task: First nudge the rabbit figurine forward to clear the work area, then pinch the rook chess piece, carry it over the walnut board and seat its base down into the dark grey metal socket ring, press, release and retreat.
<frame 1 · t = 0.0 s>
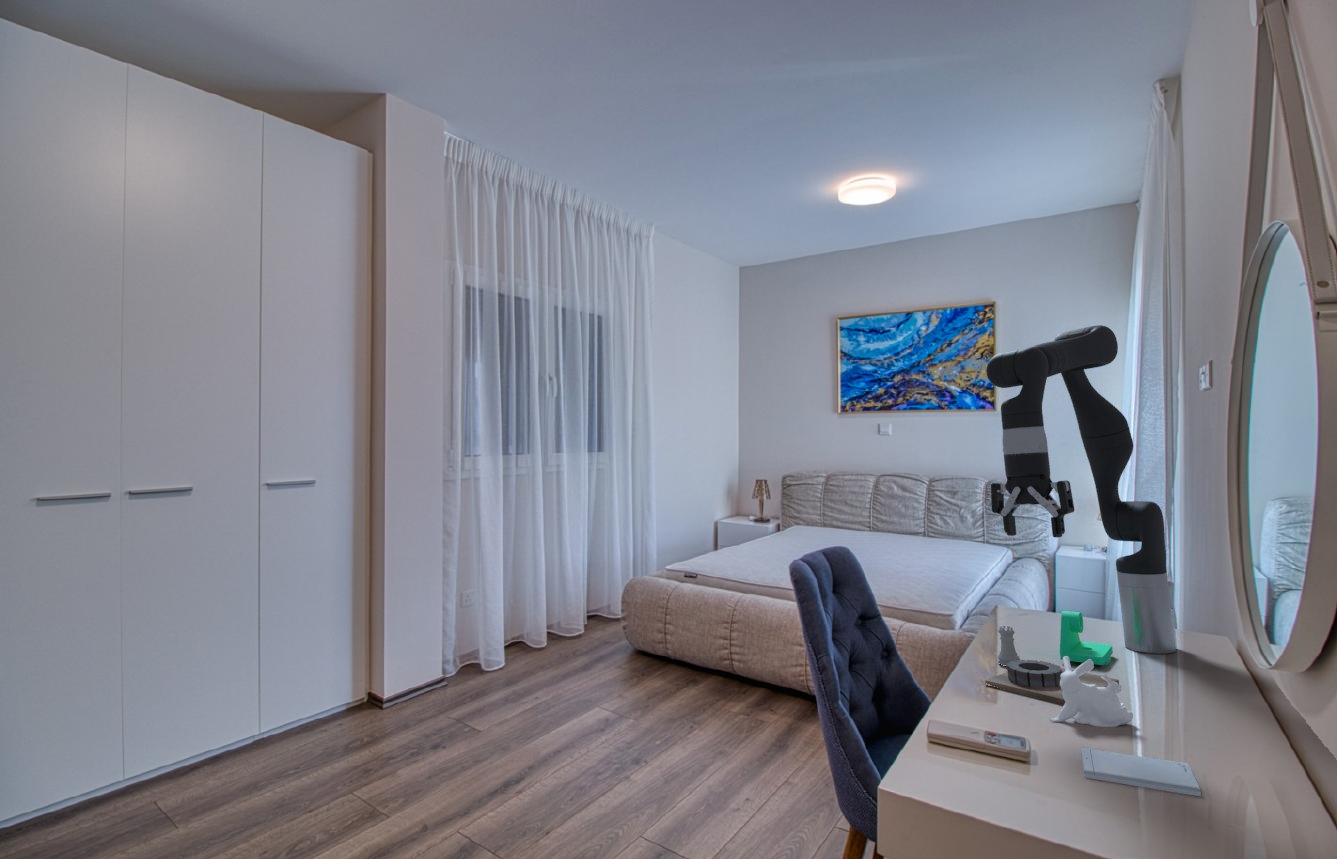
hand: (1034, 536, 119), 29 cm above the table, fingers open, 8 cm apart
rook chess piece: (1009, 665, 135), on the table
rabbit figurine: (1089, 719, 105), on the table
socket board: (1051, 685, 121), on the table
camera mount: (1088, 661, 136), on the table
hard drive: (1137, 778, 86), on the table
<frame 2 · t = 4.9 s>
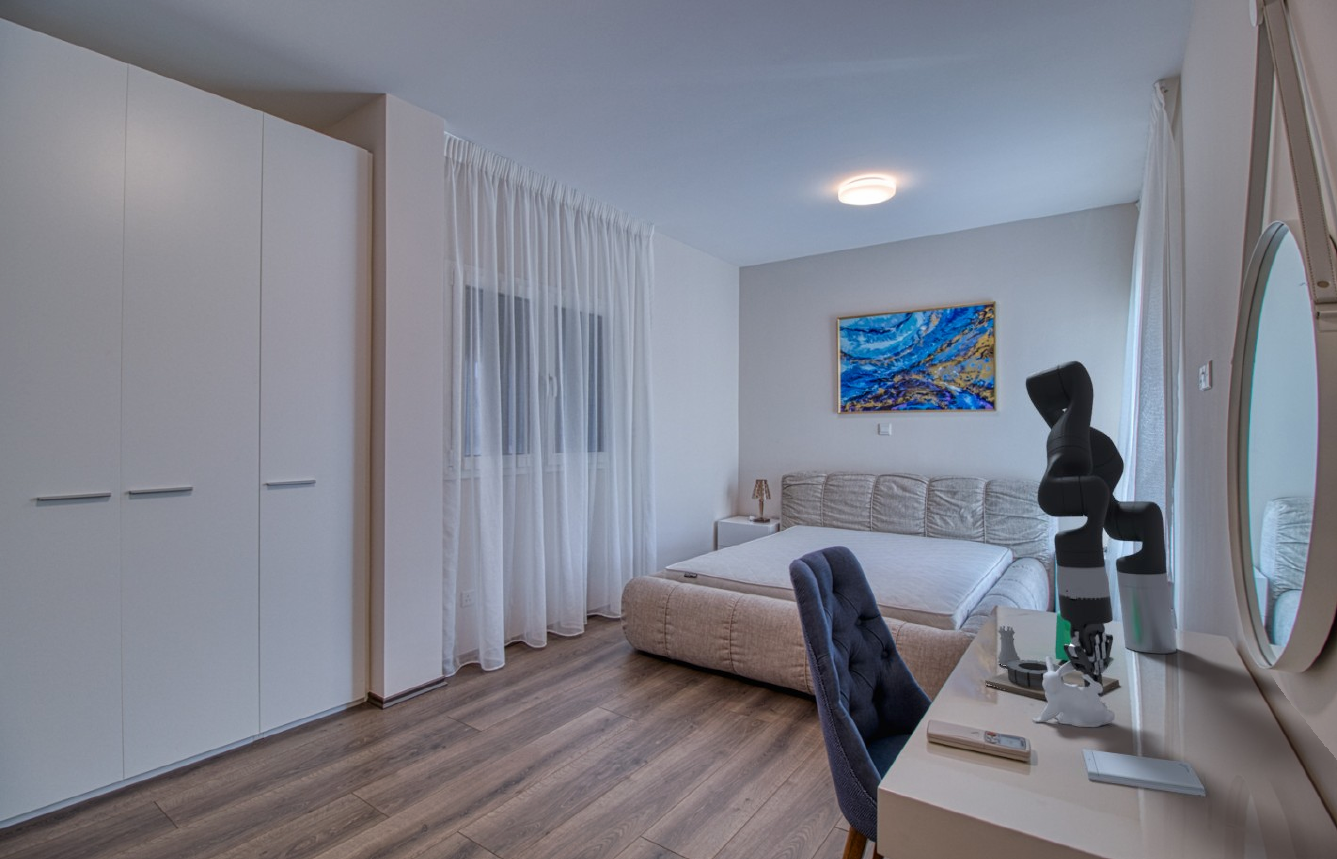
hand: (1094, 695, 106), 3 cm above the table, fingers closed
rabbit figurine: (1071, 719, 105), on the table, touching gripper
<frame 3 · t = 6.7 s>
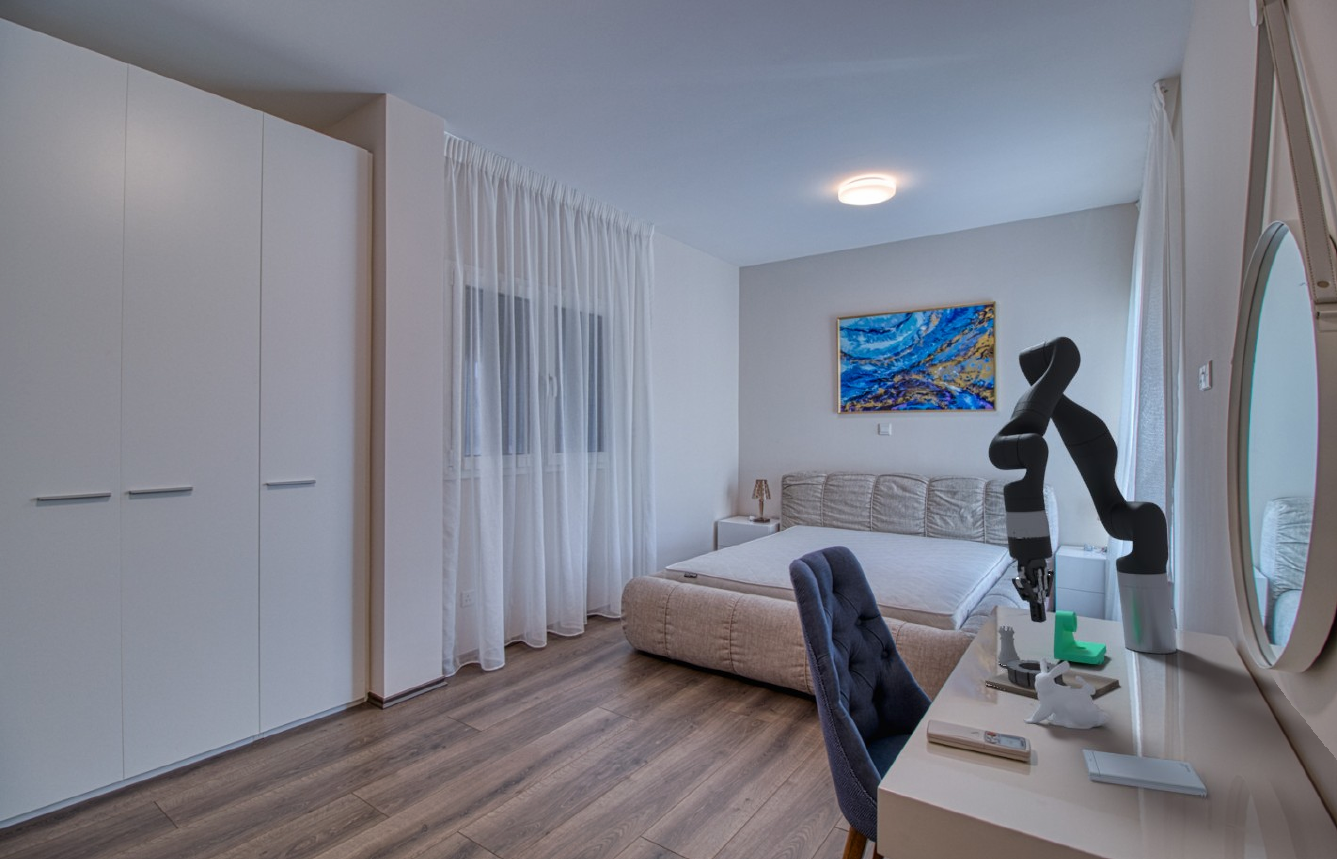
hand: (1038, 621, 124), 12 cm above the table, fingers closed
rabbit figurine: (1064, 721, 105), on the table
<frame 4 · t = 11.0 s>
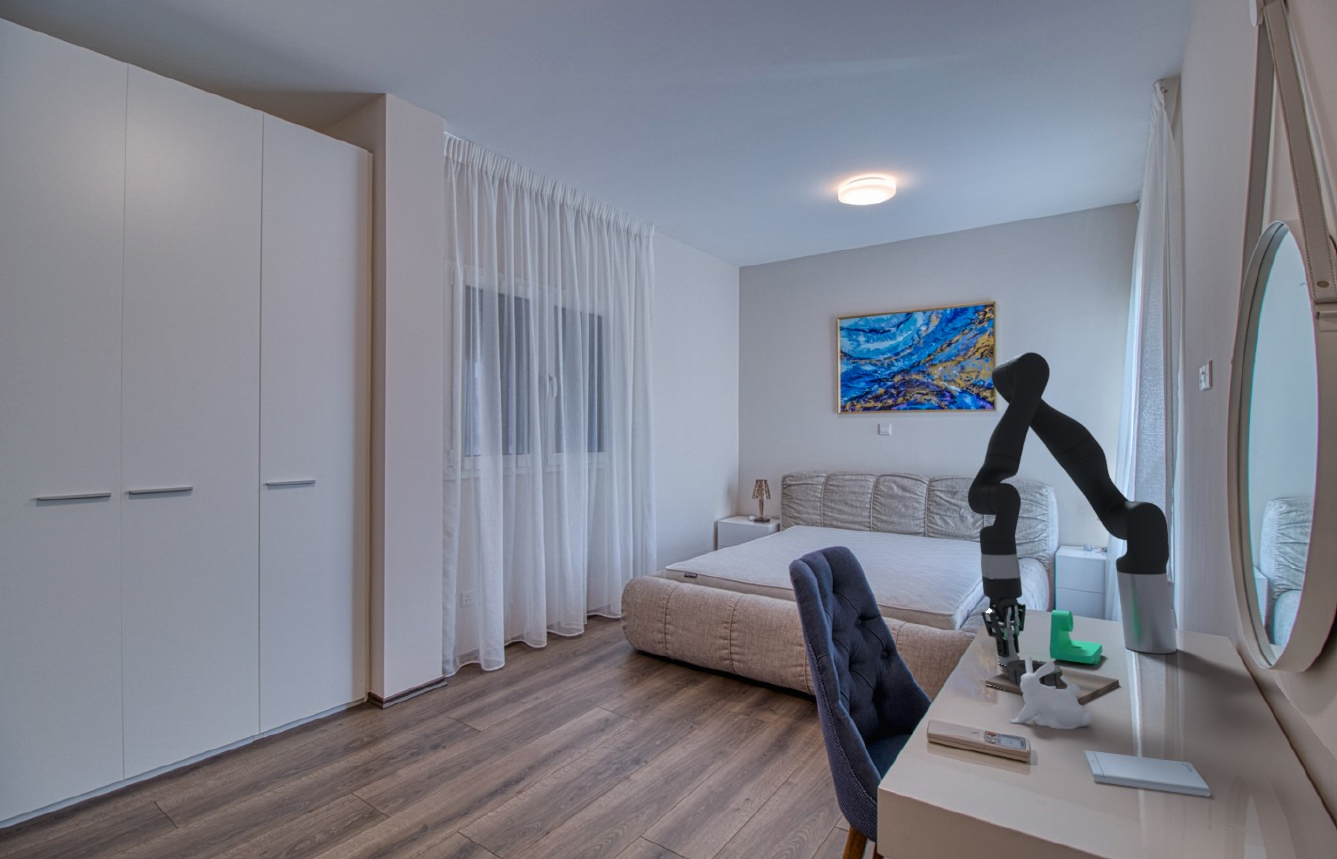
hand: (1008, 654, 135), 2 cm above the table, fingers closed on rook chess piece, 3 cm apart
rook chess piece: (1009, 665, 135), on the table, touching gripper
rabbit figurine: (1049, 721, 105), on the table
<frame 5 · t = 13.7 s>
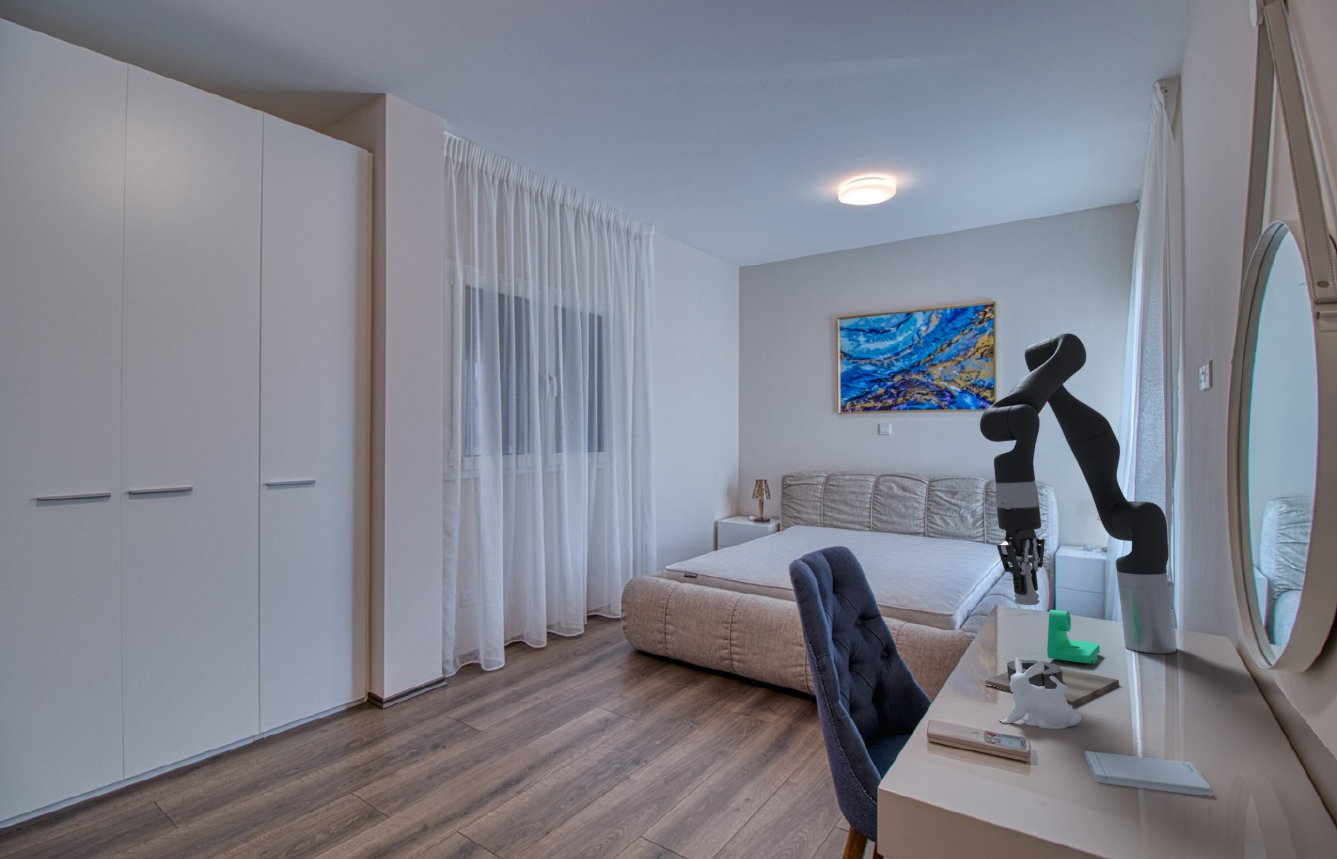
hand: (1026, 591, 124), 18 cm above the table, fingers closed on rook chess piece, 3 cm apart
rook chess piece: (1027, 604, 123), point 15 cm above the table, touching gripper
rabbit figurine: (1039, 721, 105), on the table
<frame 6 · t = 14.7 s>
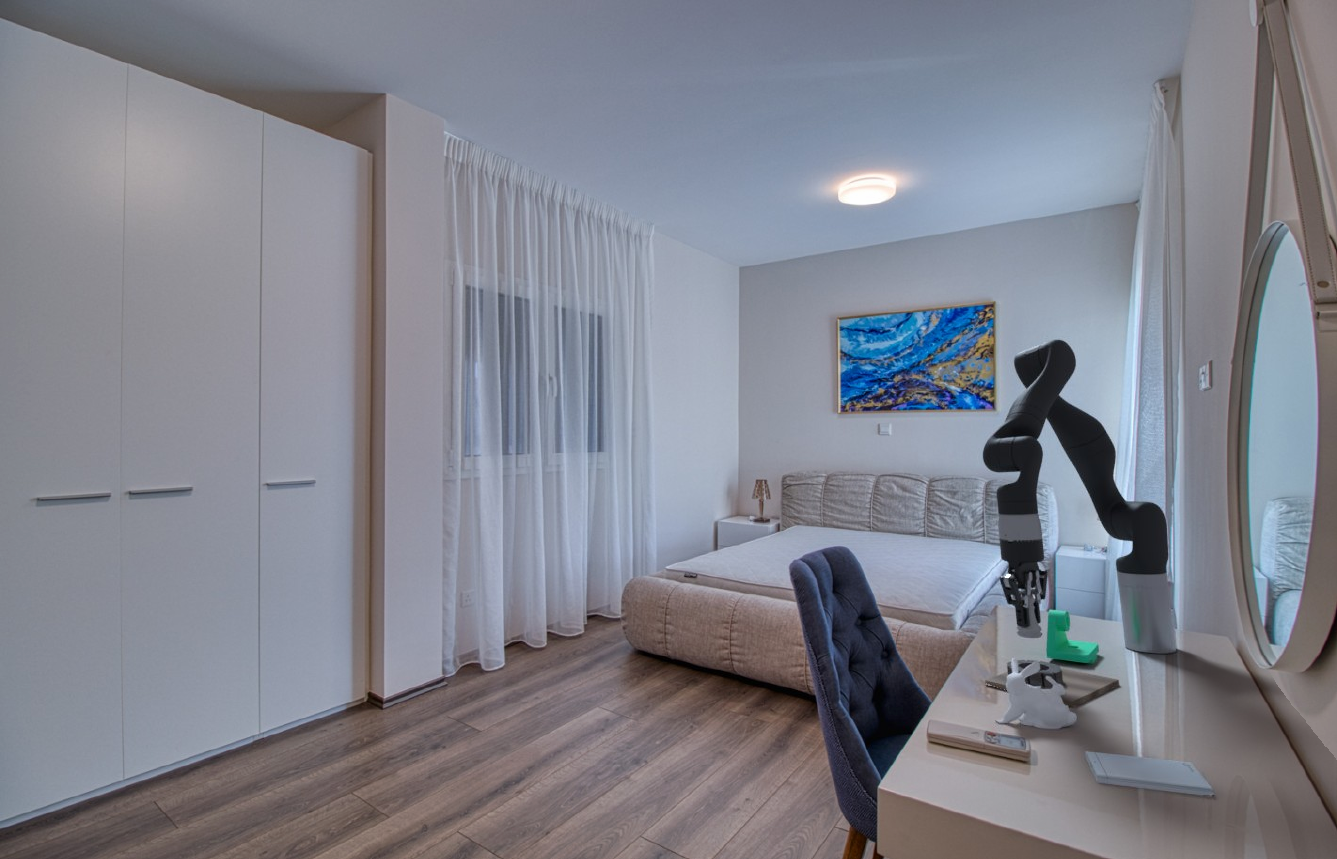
hand: (1028, 624, 123), 12 cm above the table, fingers closed on rook chess piece, 3 cm apart
rook chess piece: (1029, 636, 123), point 9 cm above the table, touching gripper
when the fingers open (4 cm above the table, at t = 17.1 s): rook chess piece stays where it is, resting on socket board.
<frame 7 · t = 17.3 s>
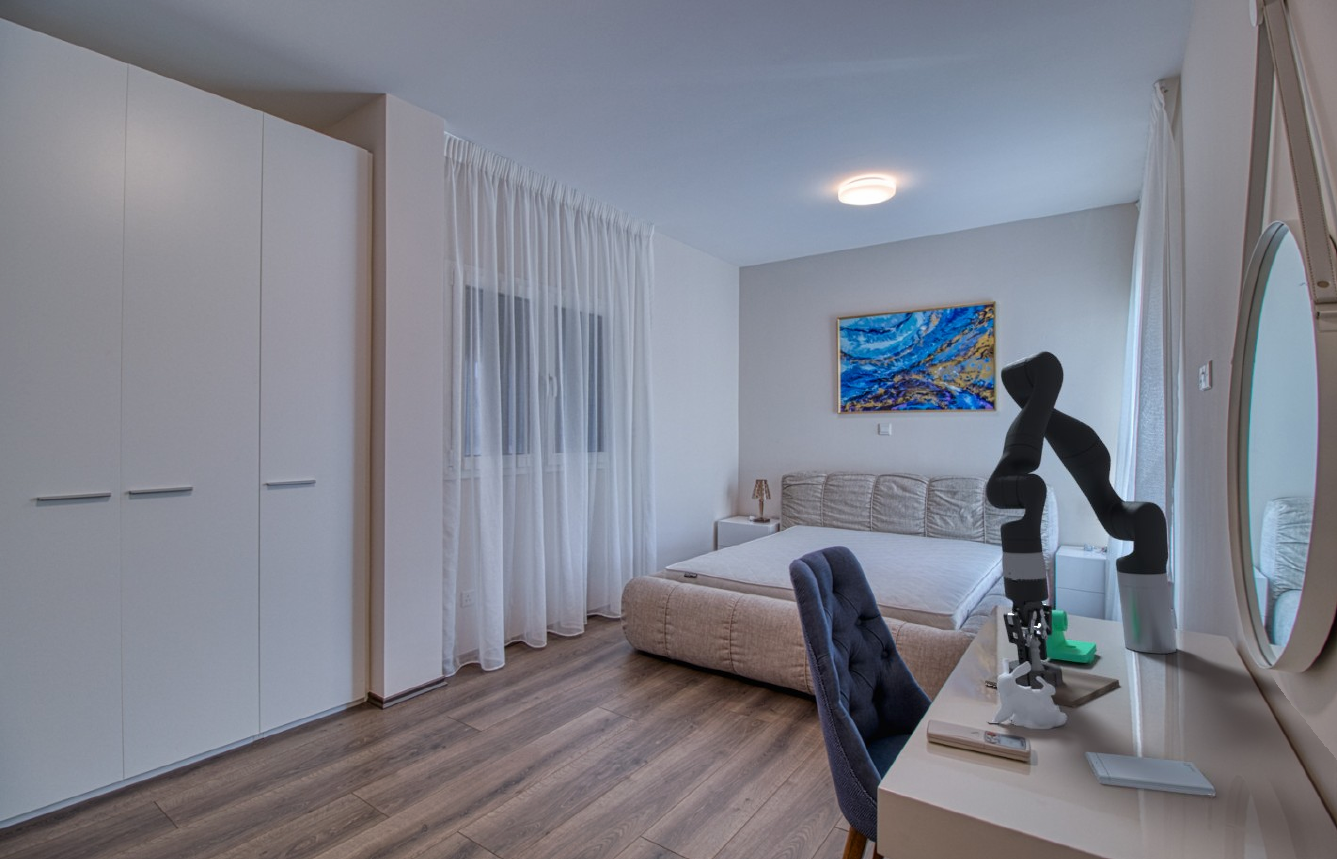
hand: (1033, 661, 122), 4 cm above the table, fingers open, 5 cm apart
rook chess piece: (1035, 680, 122), point 1 cm above the table, touching socket board
rabbit figurine: (1025, 721, 105), on the table
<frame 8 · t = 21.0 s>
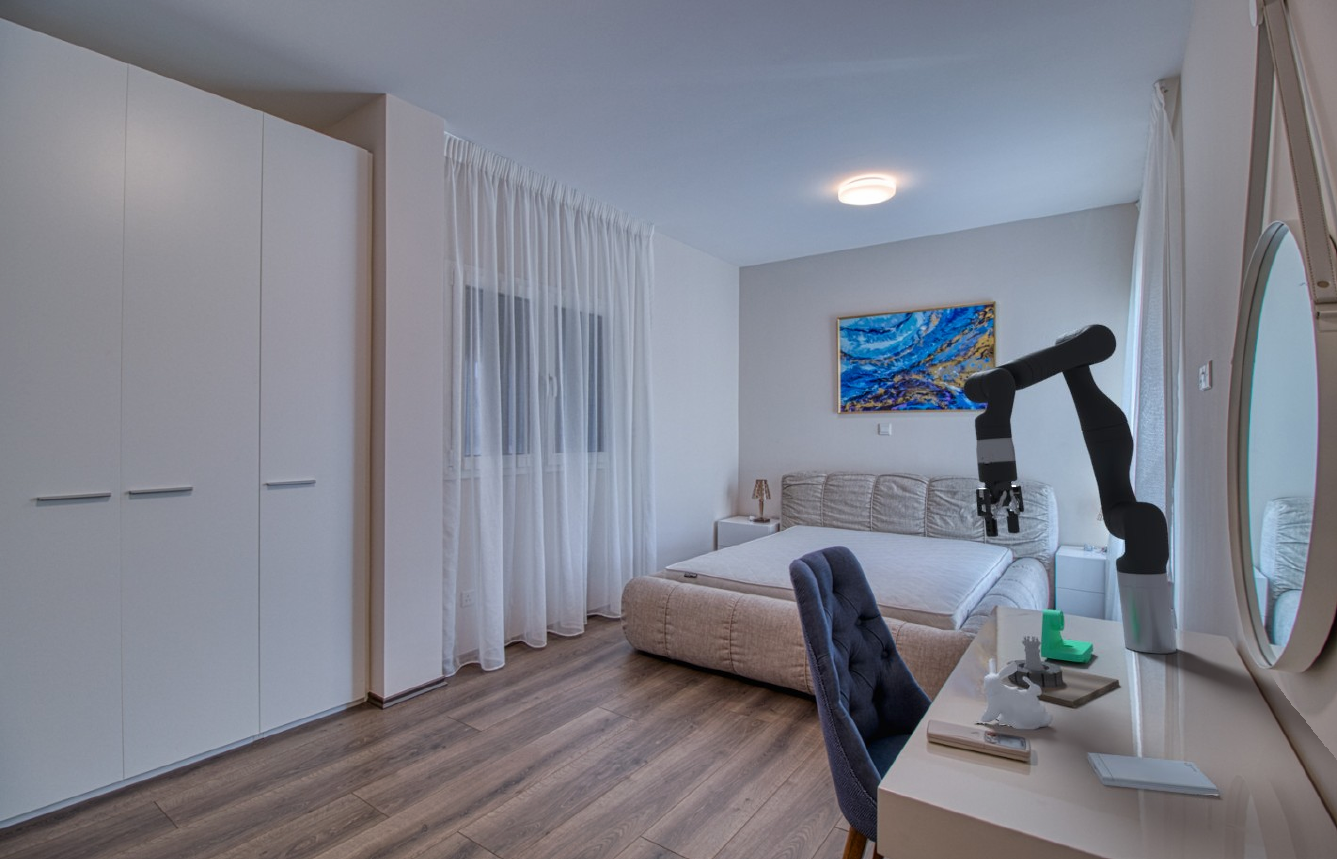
hand: (1003, 534, 135), 28 cm above the table, fingers open, 8 cm apart
rabbit figurine: (1011, 722, 106), on the table
at the end: rook chess piece 0.2 cm from the target spot on the socket board, point 0.8 cm above the socket board's base; rook chess piece tilted 0°; rabbit figurine moved 12.8 cm from its start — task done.
